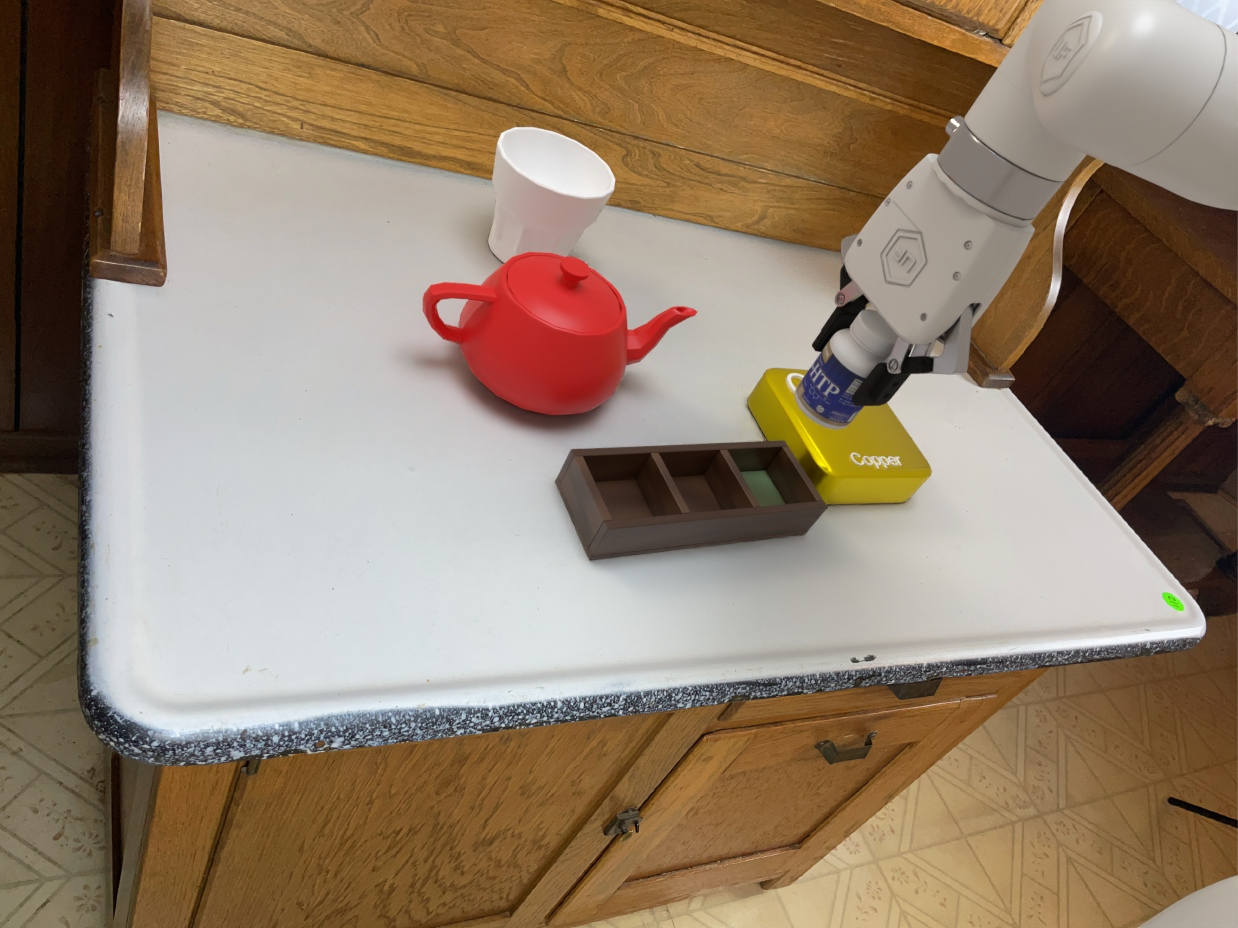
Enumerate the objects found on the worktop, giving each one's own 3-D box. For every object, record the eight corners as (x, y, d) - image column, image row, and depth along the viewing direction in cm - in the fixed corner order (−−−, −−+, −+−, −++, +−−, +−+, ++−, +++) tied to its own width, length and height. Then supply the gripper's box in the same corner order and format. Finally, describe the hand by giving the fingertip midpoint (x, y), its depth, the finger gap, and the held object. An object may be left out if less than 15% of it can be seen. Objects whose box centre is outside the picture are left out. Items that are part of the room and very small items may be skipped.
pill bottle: (782, 384, 70) (840, 299, 65) (830, 387, 73) (890, 306, 67) (810, 431, 67) (874, 346, 61) (860, 432, 70) (925, 351, 64)
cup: (469, 205, 95) (496, 112, 87) (575, 235, 99) (609, 149, 92) (468, 270, 86) (498, 174, 79) (584, 300, 90) (622, 211, 83)
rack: (805, 534, 78) (828, 507, 76) (589, 560, 66) (607, 529, 64) (764, 467, 83) (784, 439, 80) (554, 481, 71) (570, 448, 68)
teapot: (417, 424, 69) (453, 307, 61) (396, 302, 79) (424, 186, 71) (682, 442, 81) (741, 345, 73) (636, 333, 90) (684, 236, 82)
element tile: (802, 506, 81) (829, 473, 78) (739, 394, 89) (761, 361, 86) (915, 504, 88) (943, 473, 85) (847, 400, 97) (870, 369, 93)
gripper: (884, 96, 58) (759, 303, 70) (1046, 249, 49) (870, 458, 61) (955, 114, 62) (825, 308, 74) (1117, 260, 53) (939, 454, 65)
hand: (846, 374), depth 68 cm, fingers closed on pill bottle, 5 cm apart
